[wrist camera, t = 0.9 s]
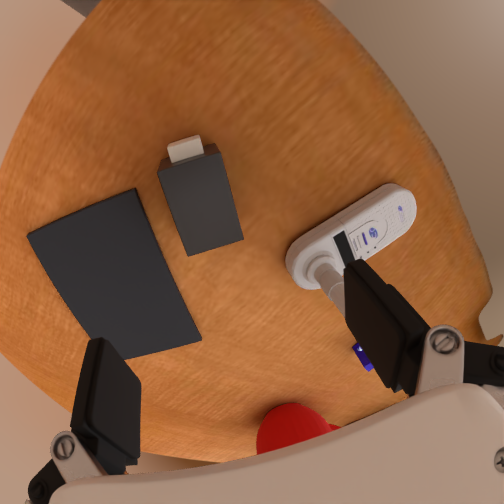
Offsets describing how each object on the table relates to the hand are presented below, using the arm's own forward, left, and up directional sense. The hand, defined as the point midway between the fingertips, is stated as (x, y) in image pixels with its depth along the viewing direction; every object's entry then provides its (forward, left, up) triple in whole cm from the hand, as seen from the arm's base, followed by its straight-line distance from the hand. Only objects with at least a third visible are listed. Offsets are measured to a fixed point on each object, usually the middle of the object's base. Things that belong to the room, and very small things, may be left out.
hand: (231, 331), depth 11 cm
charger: (0, 0, -16) cm, 16 cm away
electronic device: (+8, +13, -16) cm, 22 cm away
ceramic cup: (+41, +3, -16) cm, 44 cm away
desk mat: (+7, -11, -16) cm, 21 cm away
